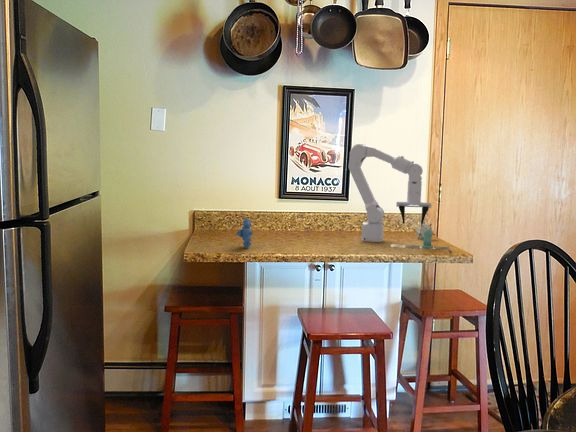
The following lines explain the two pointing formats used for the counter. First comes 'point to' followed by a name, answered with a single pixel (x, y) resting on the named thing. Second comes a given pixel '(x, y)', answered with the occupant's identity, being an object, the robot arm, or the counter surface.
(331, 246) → the counter surface
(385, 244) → the counter surface
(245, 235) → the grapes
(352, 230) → the counter surface
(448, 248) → the board
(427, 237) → the pawn
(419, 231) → the grey spiky ball
